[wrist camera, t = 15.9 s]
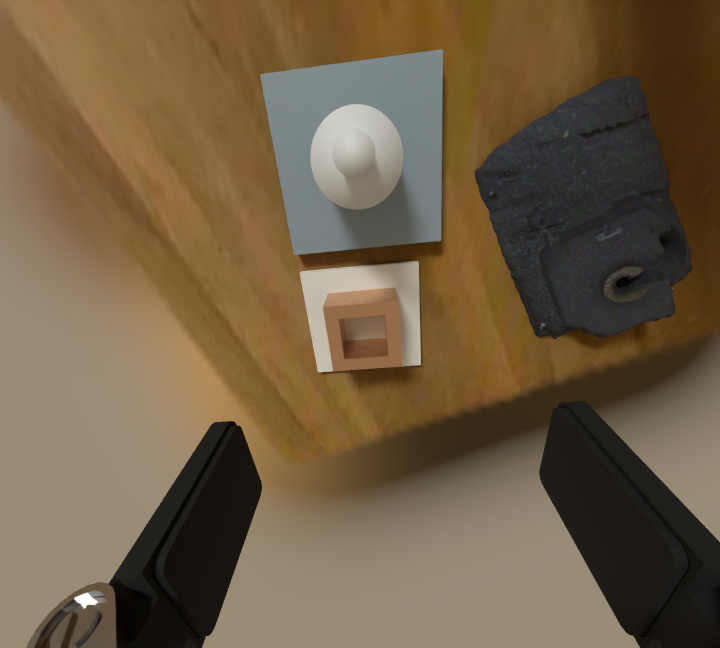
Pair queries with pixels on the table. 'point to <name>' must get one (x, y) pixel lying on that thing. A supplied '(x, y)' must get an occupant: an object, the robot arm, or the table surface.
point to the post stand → (359, 151)
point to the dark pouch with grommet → (588, 214)
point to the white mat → (369, 327)
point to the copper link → (365, 350)
